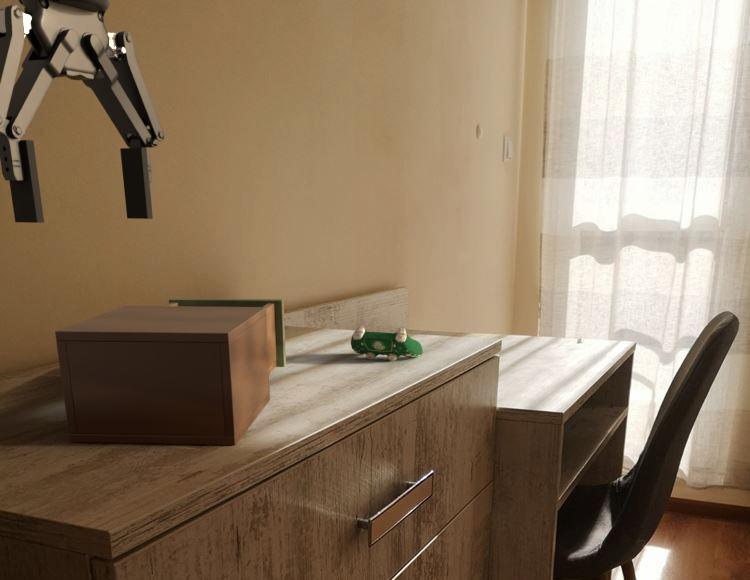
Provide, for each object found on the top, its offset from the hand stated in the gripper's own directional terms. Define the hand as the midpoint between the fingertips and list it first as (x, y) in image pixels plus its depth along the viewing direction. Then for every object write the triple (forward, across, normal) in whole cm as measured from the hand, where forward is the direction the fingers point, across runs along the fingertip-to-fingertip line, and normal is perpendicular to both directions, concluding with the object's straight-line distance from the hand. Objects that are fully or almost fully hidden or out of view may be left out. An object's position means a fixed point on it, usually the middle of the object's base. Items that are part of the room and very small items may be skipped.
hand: (88, 220), depth 77 cm
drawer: (+17, +15, -2) cm, 23 cm away
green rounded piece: (+18, +36, -13) cm, 43 cm away
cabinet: (+18, 0, -9) cm, 20 cm away
